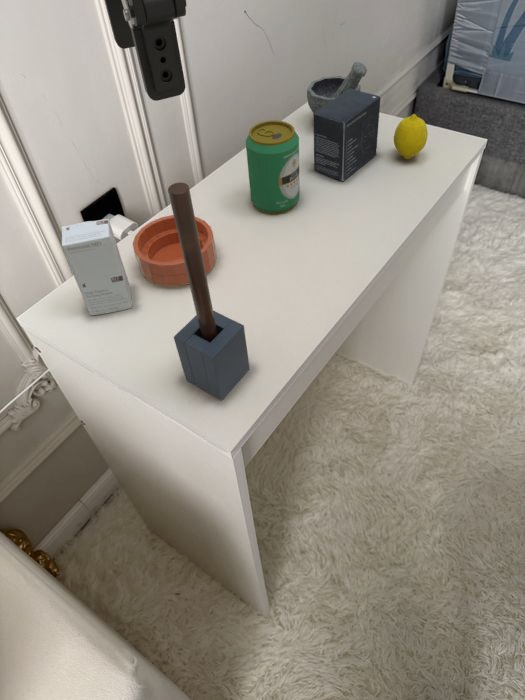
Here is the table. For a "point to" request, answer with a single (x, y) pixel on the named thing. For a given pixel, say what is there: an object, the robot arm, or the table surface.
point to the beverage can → (273, 166)
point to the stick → (193, 258)
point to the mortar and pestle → (334, 87)
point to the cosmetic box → (97, 266)
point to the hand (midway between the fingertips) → (148, 68)
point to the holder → (213, 355)
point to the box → (346, 133)
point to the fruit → (410, 136)
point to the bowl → (169, 251)
